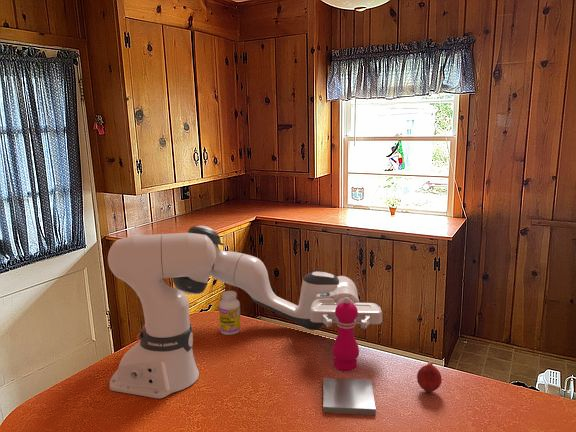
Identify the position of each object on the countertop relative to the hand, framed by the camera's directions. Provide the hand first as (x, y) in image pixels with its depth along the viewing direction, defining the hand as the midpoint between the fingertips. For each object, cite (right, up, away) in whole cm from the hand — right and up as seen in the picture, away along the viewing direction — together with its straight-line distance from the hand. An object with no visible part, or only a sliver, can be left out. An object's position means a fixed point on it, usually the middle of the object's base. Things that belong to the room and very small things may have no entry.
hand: (346, 325), depth 124 cm
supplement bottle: (-34, -8, +24) cm, 43 cm away
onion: (+19, -14, -10) cm, 26 cm away
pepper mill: (0, -12, +2) cm, 12 cm away
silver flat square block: (-1, -15, -12) cm, 19 cm away
